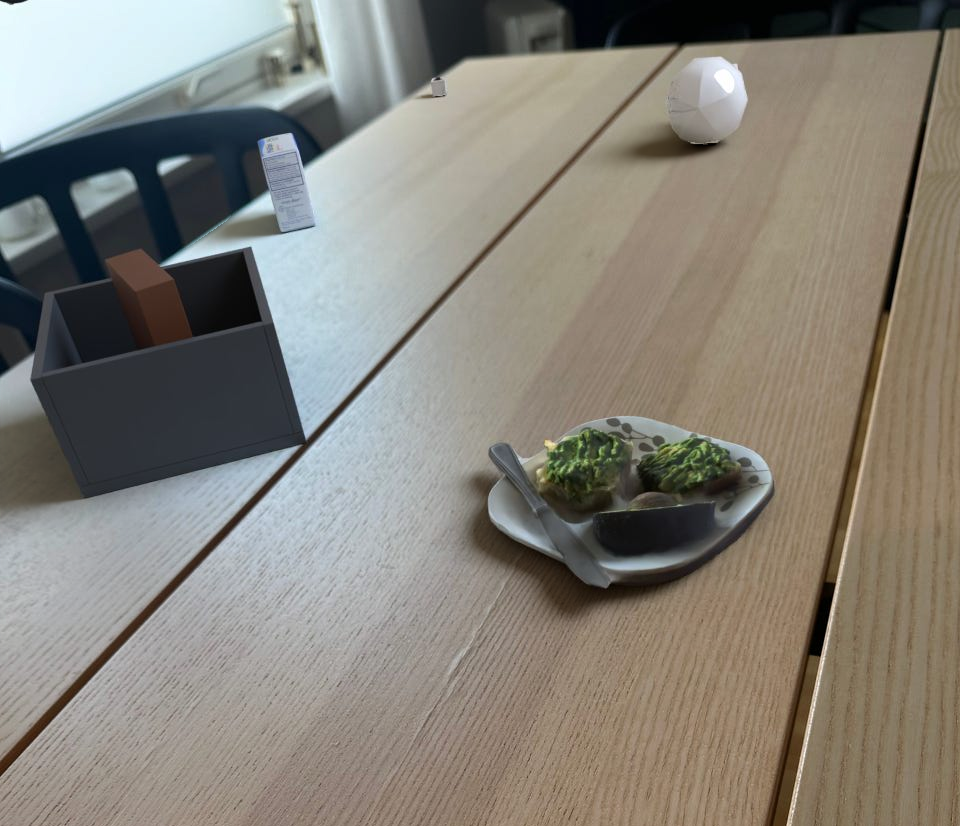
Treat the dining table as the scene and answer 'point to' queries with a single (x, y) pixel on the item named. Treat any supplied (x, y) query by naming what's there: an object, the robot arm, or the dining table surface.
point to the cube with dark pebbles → (439, 86)
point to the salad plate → (629, 499)
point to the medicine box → (286, 182)
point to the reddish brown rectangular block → (148, 300)
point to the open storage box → (165, 378)
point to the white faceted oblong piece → (706, 100)
